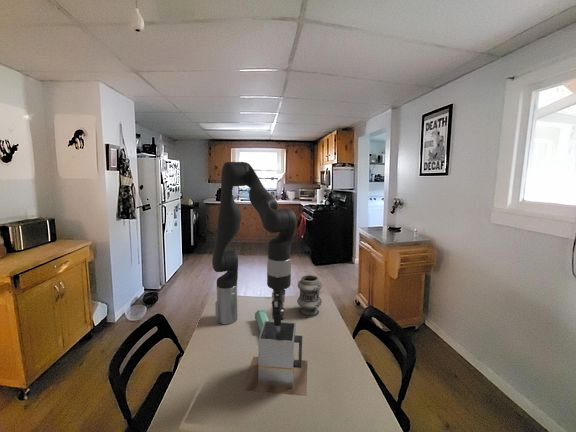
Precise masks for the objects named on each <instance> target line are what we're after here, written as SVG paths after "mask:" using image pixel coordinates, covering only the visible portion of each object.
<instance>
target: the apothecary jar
mask: <svg viewBox="0 0 576 432" xmlns="http://www.w3.org/2000/svg"><path fill="white" fill-rule="evenodd" d="M322 286H323V284H322V283H321V281H320V280H319V277H318V276H316V275H314V274H305V275H303V276H302V277H301V278H300V280H299V281H298V282H297V288H298V289H299V296H298V297H297V304H298V306H299V307H300V308H299V312H298V313H299V314H300V315H301V316H303V317H307V318H312V317H317V316H318V315H319V314H320V311H319V309H318V308H320V307H321V306H322V298H321V297H320V290H321V289H322V288H323V287H322Z"/></svg>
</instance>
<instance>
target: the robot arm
mask: <svg viewBox="0 0 576 432" xmlns="http://www.w3.org/2000/svg"><path fill="white" fill-rule="evenodd" d="M220 179H221V180H220V181H221V182H220V203H219V211H218V216H217V226H216V227H217V229H216V236H215V237H216V238H215V244H214V248H213V254H212V259H211V260H212V261H211V262H212V268H213V271H215V272H216V273H222V272H223V273H224V272H225V273H224V274H222V275H220V276H219V277H218V278H217V279H216V302H215V303H214V304H215V305H214V306H215V322H216V323H219V324H220V325H231V324H234V323H235V322H237V321H238V314H239V313H238V278H239V277H238V276H239V275H238V273H239V256H238V253H237V251H236V250H235V249H228V250H226V249H227V247H228V245H229V244H230V243H231V242H232V240H233V239H234V238H235V237H236V236H237V234H238V233H239V231H240V228H241V221H242V212H241V211H240V208H239V206H238V205H237V203H236V202H235V199H234V197H233V188H234V187H245V186H247V187H248V188H249V191H248V198H249V201H250V204H251V206H252V207H253V208H254V209H255V210H256V212H257V213H258V214H259V218H260V219H261V223H262V226H263V229H264V230H266V231H267V232H269V233H271V234H273V233H278V234H277V236H276V237H275V238H272V239H270V240H269V242H268V243H267V245H268V248H267V255H268V256H267V266H266V267H267V268H266V269H267V270H266V278H267V279H266V282H267V283H266V285H267V287H268V288H269V289H272V293H271V298H272V299H271V300H272V301H271V311H272V312H271V313H272V314H271V316H272V315H273V316H274V320H273V321H274V325H275V326H281V322H282V321H281V314H282V313H281V311H282V308H283V307H284V306H285V305H284V304H285V299H286V290H287V289H289V288H290V286H291V283H292V282H291V281H292V279H291V278H292V277H291V276H292V264H291V263H292V262H291V246H292V242H293V239H294V235H295V232H296V229H297V223H298V221H297V220H298V219H297V216H296V213H295V212H294V211H293V210H292V209H291V208H279V203H278V201H277V199H275V197H274V196H273V195H272V194H271V193H270V192H269V191H268V190H267V189H266V188H265V187H264V185H263V183H262V182H261V180H260V178H259V176H258V175H257V173H256V171H255V169H254V168H253V166H252V165H251V164H250V163H248V162H245V161H226V162H224V164H223V165H222V169H221V178H220Z"/></svg>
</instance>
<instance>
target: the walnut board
mask: <svg viewBox="0 0 576 432" xmlns="http://www.w3.org/2000/svg"><path fill="white" fill-rule="evenodd" d="M308 362H309V361H308V360H304V359H302V366H301V368H294V378H293V388H285V387H273V386H262V385H258V356H254V355H253V357H252V360H251V362H250V366H249V369H248V372H247V376H246V378H245V382H244V384H243V388H242V391H247V392H260V393H268V394H269V393H272V394H282V395H283V394H284V395H292V396H305V397H306V396H307V395H308V393H307V392H308Z"/></svg>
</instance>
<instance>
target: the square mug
mask: <svg viewBox="0 0 576 432" xmlns="http://www.w3.org/2000/svg"><path fill="white" fill-rule="evenodd" d="M296 330H297V323H296V322H289V321H281V326H280V340H276V326H275V325H274V320H273V321H272V320H269V321H264V324H263V327H262V330H261V332H259V333H260V334H259V337H258V348H257V351H258V353H257V355H258V356H257V357H258V385H262V386H273V387H285V388H293V378H294V368H301V366H302V360H303V335H297V334H296V333H297V332H296ZM296 343H298V359H296Z"/></svg>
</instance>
